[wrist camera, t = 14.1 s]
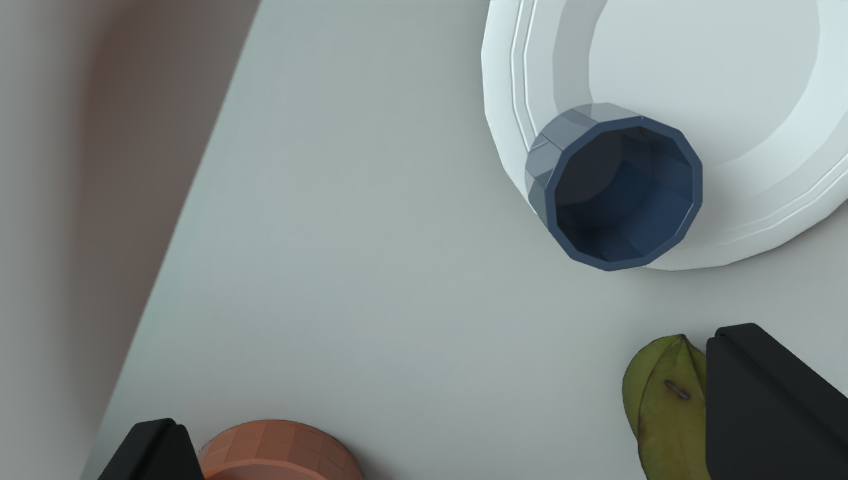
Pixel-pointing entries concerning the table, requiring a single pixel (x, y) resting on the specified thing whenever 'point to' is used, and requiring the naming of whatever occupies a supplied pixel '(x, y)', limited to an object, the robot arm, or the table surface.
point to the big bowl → (276, 454)
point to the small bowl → (613, 185)
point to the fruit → (668, 408)
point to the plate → (690, 101)
